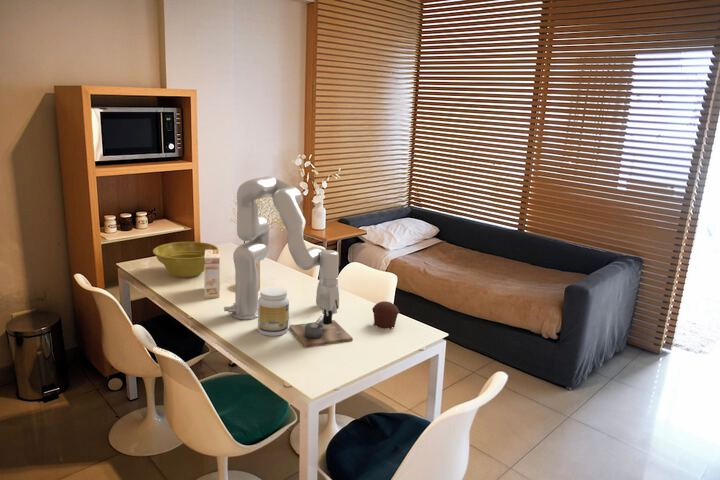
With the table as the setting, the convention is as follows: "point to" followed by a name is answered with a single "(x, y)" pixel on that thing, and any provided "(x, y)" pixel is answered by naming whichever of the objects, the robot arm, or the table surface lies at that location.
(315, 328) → the grey knobbed bar
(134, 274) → the table surface
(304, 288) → the table surface
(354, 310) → the table surface
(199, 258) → the planter bowl
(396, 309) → the muffin
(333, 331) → the board
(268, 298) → the supplement tub
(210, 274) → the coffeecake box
